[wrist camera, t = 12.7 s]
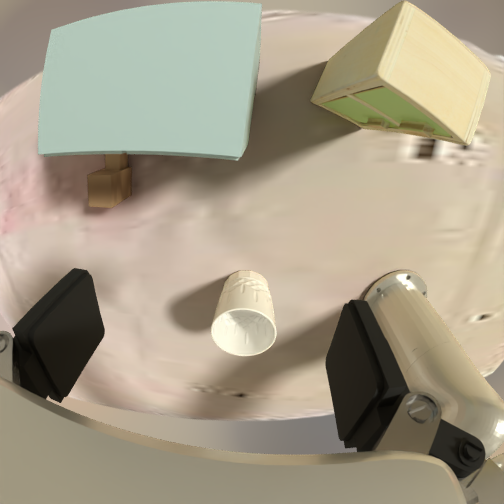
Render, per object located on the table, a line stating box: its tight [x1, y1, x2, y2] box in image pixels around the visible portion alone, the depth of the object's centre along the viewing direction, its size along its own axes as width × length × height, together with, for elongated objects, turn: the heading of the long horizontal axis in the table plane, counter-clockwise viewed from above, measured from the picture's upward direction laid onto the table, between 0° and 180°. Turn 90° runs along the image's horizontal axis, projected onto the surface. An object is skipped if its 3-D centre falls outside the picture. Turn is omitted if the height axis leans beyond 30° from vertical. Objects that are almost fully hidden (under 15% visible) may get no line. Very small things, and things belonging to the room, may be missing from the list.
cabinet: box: [38, 1, 262, 160], centre depth 22 cm, size 11×16×18 cm
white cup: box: [211, 270, 277, 356], centre depth 37 cm, size 8×8×10 cm
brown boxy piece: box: [87, 153, 132, 208], centre depth 30 cm, size 13×4×6 cm, turn 173°
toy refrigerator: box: [311, 1, 491, 146], centre depth 20 cm, size 8×7×21 cm
